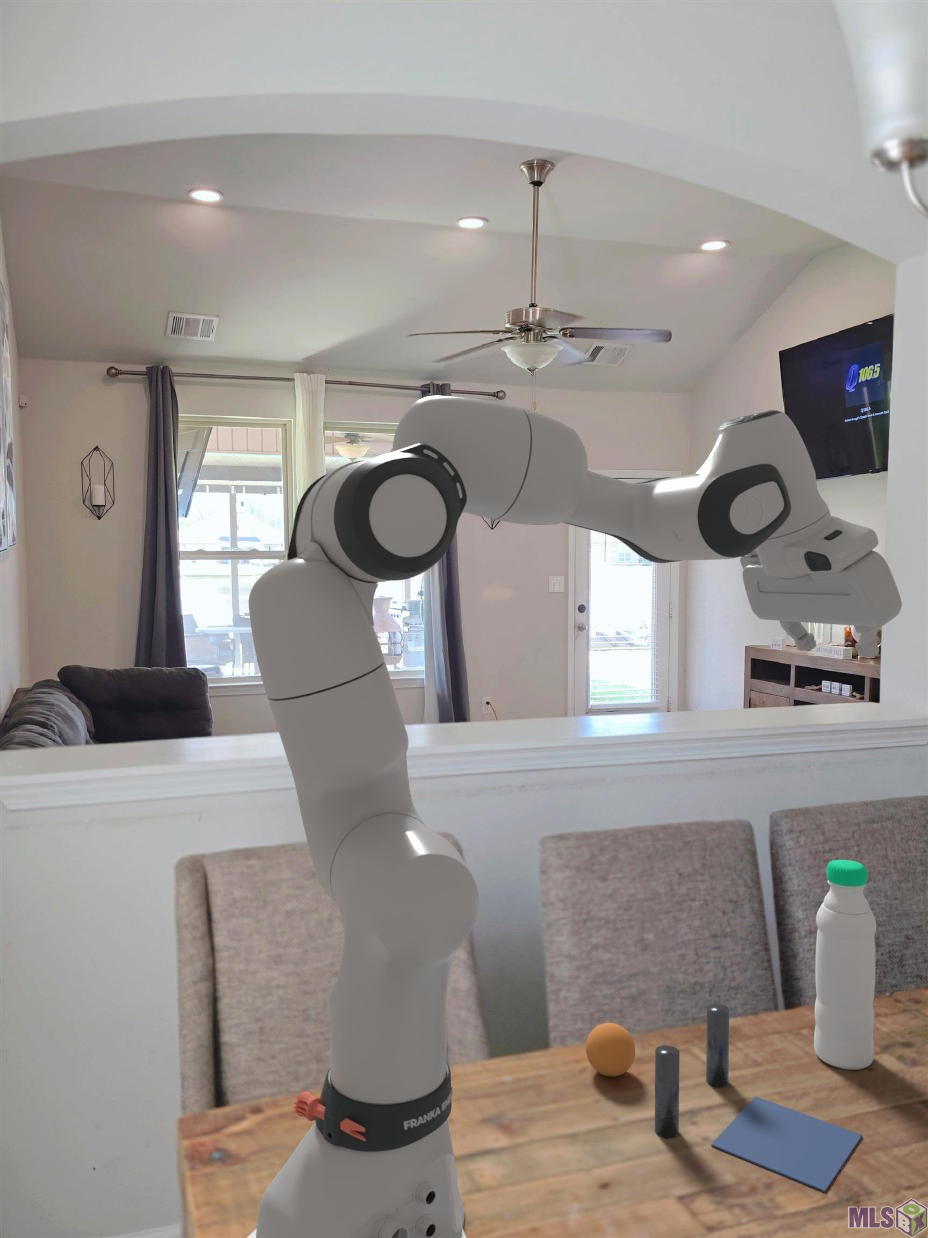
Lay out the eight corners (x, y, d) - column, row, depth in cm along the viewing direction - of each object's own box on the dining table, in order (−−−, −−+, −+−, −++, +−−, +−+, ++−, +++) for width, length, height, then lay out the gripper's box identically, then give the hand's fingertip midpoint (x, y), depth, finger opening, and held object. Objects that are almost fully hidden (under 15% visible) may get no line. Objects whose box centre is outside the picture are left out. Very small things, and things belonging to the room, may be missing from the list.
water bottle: (879, 1075, 115) (883, 874, 114) (818, 1069, 117) (822, 870, 116) (866, 1047, 122) (870, 857, 121) (809, 1041, 124) (812, 853, 122)
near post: (672, 1141, 102) (672, 1060, 102) (650, 1132, 104) (651, 1052, 103) (682, 1130, 104) (683, 1050, 104) (661, 1121, 106) (662, 1043, 105)
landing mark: (824, 1192, 93) (824, 1190, 93) (711, 1146, 101) (711, 1144, 101) (862, 1136, 103) (862, 1135, 103) (755, 1098, 110) (755, 1096, 110)
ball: (619, 1092, 112) (619, 1042, 111) (576, 1075, 115) (576, 1027, 115) (643, 1071, 116) (644, 1024, 116) (601, 1055, 120) (602, 1009, 120)
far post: (722, 1089, 112) (723, 1016, 112) (702, 1082, 114) (703, 1009, 113) (731, 1080, 114) (732, 1008, 114) (711, 1073, 116) (712, 1002, 115)
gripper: (718, 559, 115) (757, 657, 118) (847, 557, 97) (889, 674, 100) (755, 536, 117) (792, 633, 121) (888, 530, 99) (928, 645, 102)
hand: (837, 652), depth 110 cm, fingers open, 8 cm apart
